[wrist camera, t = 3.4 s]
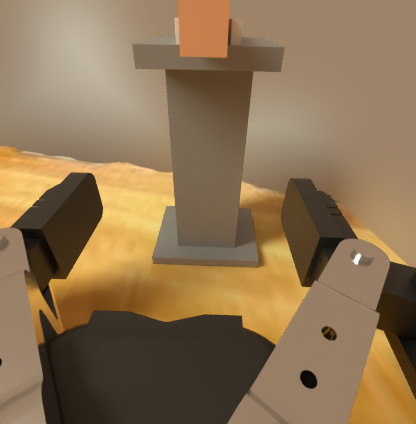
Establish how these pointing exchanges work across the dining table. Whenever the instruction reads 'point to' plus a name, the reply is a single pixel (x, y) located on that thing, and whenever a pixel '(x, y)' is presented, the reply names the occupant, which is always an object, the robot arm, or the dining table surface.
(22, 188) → the dining table surface
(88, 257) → the dining table surface
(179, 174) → the stand
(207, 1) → the bar
